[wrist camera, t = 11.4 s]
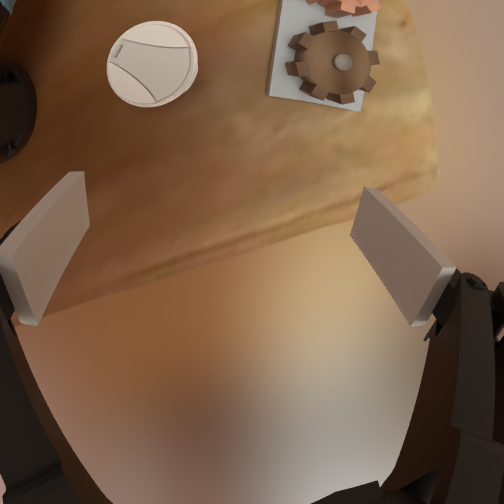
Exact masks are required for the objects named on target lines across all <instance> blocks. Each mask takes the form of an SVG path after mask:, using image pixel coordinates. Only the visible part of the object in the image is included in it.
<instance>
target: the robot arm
mask: <svg viewBox="0 0 504 504" xmlns="http://www.w3.org/2000/svg"><path fill="white" fill-rule="evenodd" d="M16 1H17V0H0V34H1V32H2V30H3V27H4V25H5V23H6V21H7V19H8V17H9V16H11V14H12V12H13V7H14V5H15V3H16ZM35 117H36V96H35V91H34V87H33V84H32V82H31V79H30V78H29V76H28V74H27V73H26V72H25V70H24V69H23V68H21V67H20V66H19V65H17V64H15V63H13V62H9V61H0V164H1V163H3V162H5V161H7V160H9V159H10V158H12V157H13V156H15V155H16V154H17V153H18V152H19V151H20V150H21V149H22V148H23V147H24V145H25V144H26V143H27V141H28V139H29V137H30V135H31V132H32V130H33V126H34V122H35ZM89 226H90V222H89V215H88V207H87V198H86V188H85V178H84V171H78V172H69V173H68V174H66V175H65V176H64V177H63V178H62V179H61V180H60V181H59V182H58V183H57V184H56V185H55V186H54V187H53V188H52V189H51V190H50V191H49V192H48V193H47V194H46V195H45V196H44V197H43V198H42V199H41V200H40V201H39V202H38V203H37V204H36V205H35V207H34V208H33V209H32V210H31V211H30V212H29V213H28V214H27V215H26V216H25V217H24V219H23V220H22V221H21V222H18V223H17V224H15V225H14V226H12V227H11V228H10V229H9V230H8V231H7V232H6V233H5V234H4V236H3V237H2V238H1V239H0V474H1V476H2V479H3V481H4V483H5V486H6V492H5V493H4V494H3V496H2V497H3V504H113V503H112V502H111V501H110V500H109V499H108V498H106V496H105V495H104V494H103V492H102V491H101V490H100V489H99V487H98V486H97V485H96V483H95V482H94V480H93V479H92V478H91V476H90V475H89V473H88V472H87V471H86V469H85V468H84V466H83V465H82V463H81V462H80V460H79V459H78V457H77V456H76V454H75V452H74V451H73V449H72V448H71V446H70V444H69V443H68V441H67V439H66V438H65V436H64V434H63V433H62V431H61V429H60V428H59V426H58V424H57V422H56V420H55V418H54V417H53V415H52V413H51V411H50V409H49V407H48V406H47V403H46V401H45V399H44V397H43V395H42V393H41V391H40V389H39V387H38V385H37V383H36V380H35V378H34V376H33V374H32V372H31V369H30V367H29V364H28V362H27V360H26V357H25V355H24V352H23V350H22V347H21V345H20V342H19V339H18V336H17V333H16V331H15V328H14V325H13V323H12V321H11V319H10V318H11V316H12V314H13V312H14V311H15V312H16V314H17V317H18V319H19V321H20V323H23V324H30V325H39V322H40V320H41V318H42V316H43V313H44V311H45V309H46V307H47V305H48V303H49V300H50V298H51V296H52V294H53V292H54V290H55V288H56V286H57V284H58V282H59V280H60V278H61V276H62V274H63V272H64V270H65V269H66V267H67V265H68V263H69V261H70V259H71V257H72V256H73V254H74V252H75V250H76V248H77V247H78V245H79V243H80V241H81V240H82V238H83V236H84V234H85V233H86V231H87V229H88V228H89ZM350 236H351V237H352V239H353V240H354V242H355V243H356V244H357V246H358V247H359V249H360V250H361V251H362V253H363V254H364V256H365V257H366V259H367V260H368V262H369V263H370V264H371V266H372V267H373V269H374V270H375V272H376V273H377V275H378V276H379V278H380V279H381V281H382V282H383V284H384V285H385V287H386V288H387V290H388V291H389V293H390V294H391V296H392V298H393V299H394V301H395V302H396V304H397V305H398V307H399V309H400V310H401V312H402V313H403V315H404V317H405V318H406V320H407V321H408V323H409V324H410V326H411V327H412V326H419V325H425V324H426V322H427V321H428V319H429V317H430V316H431V314H432V313H433V315H434V316H435V318H436V321H435V322H434V324H433V325H432V327H431V329H430V330H429V332H428V333H427V335H426V336H425V338H424V341H426V340H427V339H428V338H430V342H429V347H428V352H427V357H426V362H425V366H424V371H423V376H422V380H421V384H420V388H419V392H418V396H417V400H416V403H415V407H414V411H413V414H412V418H411V421H410V425H409V427H408V431H407V434H406V437H405V440H404V443H403V446H402V449H401V451H400V455H399V457H398V460H397V462H396V466H395V468H394V469H393V471H392V473H391V474H390V475H389V477H388V478H387V479H386V480H385V482H384V483H383V484H382V486H381V487H380V486H379V483H378V481H374V482H370V483H367V484H364V485H360V486H356V487H353V488H349V489H345V490H341V491H337V492H334V493H333V494H331V495H328V496H326V497H324V498H322V499H320V500H318V501H316V502H314V503H311V504H504V336H503V337H502V339H501V340H500V341H498V339H497V336H498V335H499V334H500V332H501V331H502V329H503V328H504V282H500V283H499V285H498V286H497V288H496V290H495V291H490V290H488V288H487V286H486V284H485V283H484V282H483V281H482V280H481V279H480V278H479V277H477V276H475V275H474V274H471V273H462V274H461V273H460V271H459V270H458V269H457V268H456V267H455V266H454V264H453V263H452V262H451V261H450V260H449V259H448V258H447V257H446V256H445V255H444V253H443V252H442V251H441V250H440V249H439V248H438V247H437V246H436V245H435V244H434V243H433V242H432V241H431V240H430V239H429V238H428V237H427V236H426V235H425V234H424V233H423V232H422V231H421V230H420V229H419V228H418V227H417V226H416V225H415V224H414V223H413V222H412V221H411V220H410V219H409V218H408V217H407V216H406V215H405V214H404V213H403V212H402V211H401V210H399V209H398V208H397V207H396V206H395V205H394V204H393V203H392V202H391V201H390V200H389V199H388V198H387V197H386V196H384V195H383V194H382V193H381V192H380V191H379V190H378V189H375V188H368V187H364V189H363V193H362V196H361V200H360V203H359V207H358V210H357V214H356V217H355V220H354V224H353V227H352V230H351V234H350Z"/></svg>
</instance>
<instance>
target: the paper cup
mask: <svg viewBox="0 0 504 504" xmlns="http://www.w3.org/2000/svg"><path fill="white" fill-rule="evenodd" d="M197 72H198V62H197V51H196V47H195V45H194V42H193V41H192V39H191V37H190V36H189V35H188V34H187V33H186V32H185V31H184V30H183V29H181V28H180V27H178V26H176V25H174V24H171V23H168V22H163V21H150V22H145V23H142V24H139V25H136V26H134V27H132V28H131V29H129V30H127V31H126V32H125V33H124V34H123V35H121V36H120V37H119V39H118V40H117V41H116V42H115V44H114V45H113V47H112V49H111V51H110V53H109V57H108V60H107V76H108V80H109V83H110V85H111V87H112V89H113V90H114V92H115V93H116V94H117V95H118V96H119V97H120V98H121V99H123V100H124V101H126V102H127V103H129V104H132V105H135V106H139V107H157V106H160V105H164V104H166V103H169V102H171V101H172V100H174V99H176V98H177V97H178V96H180V95H181V94H182V93H184V92H185V91H186V90H188V89H189V88H190V86H191V85H192V83H193V81H194V79H195V77H196V75H197Z"/></svg>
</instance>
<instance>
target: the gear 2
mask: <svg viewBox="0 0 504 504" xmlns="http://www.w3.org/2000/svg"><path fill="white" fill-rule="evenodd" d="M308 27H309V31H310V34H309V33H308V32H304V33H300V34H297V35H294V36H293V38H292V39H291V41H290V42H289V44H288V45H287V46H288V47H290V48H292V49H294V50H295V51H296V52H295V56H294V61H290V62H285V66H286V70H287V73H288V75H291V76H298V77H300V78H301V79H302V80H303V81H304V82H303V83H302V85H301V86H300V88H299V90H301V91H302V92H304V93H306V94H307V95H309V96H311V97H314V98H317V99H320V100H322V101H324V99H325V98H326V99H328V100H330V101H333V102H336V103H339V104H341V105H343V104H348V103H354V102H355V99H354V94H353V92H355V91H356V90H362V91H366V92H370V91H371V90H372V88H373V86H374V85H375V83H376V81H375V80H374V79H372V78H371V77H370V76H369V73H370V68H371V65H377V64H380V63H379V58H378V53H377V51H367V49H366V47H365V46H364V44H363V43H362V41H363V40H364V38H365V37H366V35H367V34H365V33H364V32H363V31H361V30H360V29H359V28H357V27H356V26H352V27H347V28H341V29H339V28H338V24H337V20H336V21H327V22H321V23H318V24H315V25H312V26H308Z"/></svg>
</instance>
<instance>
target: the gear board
mask: <svg viewBox="0 0 504 504" xmlns="http://www.w3.org/2000/svg"><path fill="white" fill-rule="evenodd" d="M378 1H379V0H377V2H378ZM325 9H326V7H322V6H320V5H319V4H318V3H317V2H315V3H313V4H311V5H309V4H308V3H307V2H306V1H305V0H280V1H279V8H278V15H277V22H276V29H275V36H274V42H273V49H272V56H271V63H270V70H269V77H268V84H267V91H266V95H268V96H274V97H281V98H288V99H295V100H301V101H307V102H313V103H319V104H324V105H329V106H334V107H339V108H344V109H348V110H353V111H357V112H360V110H361V105H362V100H363V95H364V91H362V90H356V91H355V92H353V94H354V99H355V102H354V103H348V104H343V105H341V104H339V103H336V102H333V101H330V100H328V99H326V98H325V99H324V101H322V100H320V99H317V98H314V97H311V96H309V95H307V94H306V93H304V92H302V91H301V90H299V88H300V86H301V85H302V83H303V82H304V81H303V80H302V79H301V78H300V77H298V76H291V75H288V73H287V70H286V66H285V62H290V61H294V56H295V52H296V51H295V50H294V49H292V48H290V47H288V46H287V45H288V44H289V42H290V41H291V39H292V38H293V36H294V35H297V34H300V33H304V32H308V33H309V34H310V31H309V27H308V26H312V25H315V24H318V23H321V22H327V21H336V20H337V24H338V28H339V29H341V28H347V27H352V26H356V27H357V28H359V29H360V30H361V31H363V32H364V33H365V34H367V35H366V37H365V38H364V40H363V41H362V43H363V44H364V46H365V47H366V49H367V51H371V50H372V44H373V37H374V31H375V24H376V16H377V11H375V12H373V13H369V14H365V15H360V16H356V17H353V16H352V15H348V16H344V17H340V18H334V17H330V16H326V15H325Z"/></svg>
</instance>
